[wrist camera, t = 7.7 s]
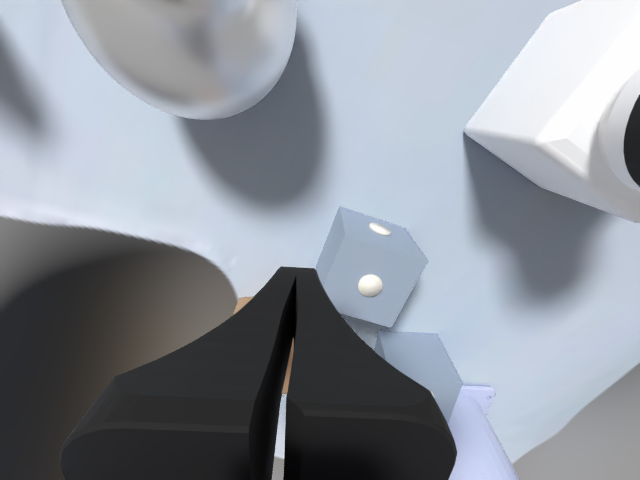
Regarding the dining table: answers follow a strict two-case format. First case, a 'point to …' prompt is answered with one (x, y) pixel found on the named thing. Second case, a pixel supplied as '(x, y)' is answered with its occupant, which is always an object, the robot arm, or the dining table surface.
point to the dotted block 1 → (369, 267)
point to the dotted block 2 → (423, 364)
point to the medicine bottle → (573, 107)
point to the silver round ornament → (189, 50)
